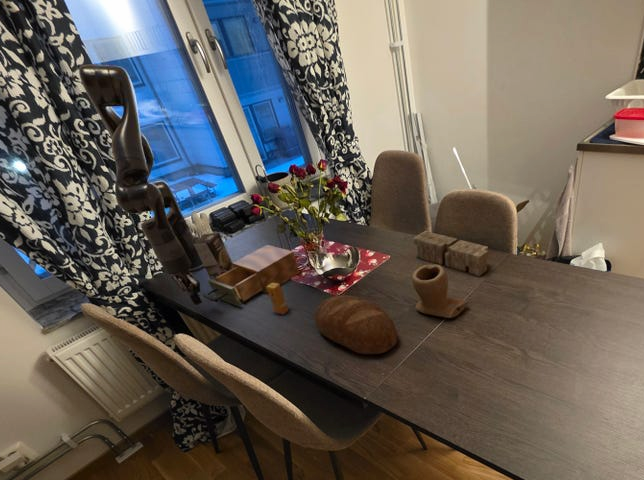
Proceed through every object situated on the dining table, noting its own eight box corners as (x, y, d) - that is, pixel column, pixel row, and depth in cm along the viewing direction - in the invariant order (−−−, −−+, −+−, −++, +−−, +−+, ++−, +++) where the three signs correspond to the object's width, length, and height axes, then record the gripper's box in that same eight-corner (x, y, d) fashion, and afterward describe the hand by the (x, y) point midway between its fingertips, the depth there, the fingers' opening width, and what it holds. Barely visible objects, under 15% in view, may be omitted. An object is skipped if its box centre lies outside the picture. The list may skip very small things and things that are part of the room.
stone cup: (408, 316, 120) (402, 273, 110) (426, 297, 127) (423, 255, 117) (452, 328, 114) (450, 283, 104) (469, 307, 121) (468, 263, 111)
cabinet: (266, 293, 139) (258, 271, 133) (241, 284, 146) (232, 263, 140) (300, 272, 148) (293, 251, 143) (274, 265, 155) (267, 244, 150)
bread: (373, 367, 104) (365, 334, 96) (305, 331, 119) (294, 300, 112) (410, 337, 112) (406, 304, 105) (342, 307, 127) (334, 276, 120)
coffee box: (228, 282, 148) (209, 242, 137) (212, 283, 148) (192, 244, 138) (236, 270, 155) (219, 231, 144) (221, 271, 155) (203, 233, 145)
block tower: (490, 269, 139) (427, 248, 153) (492, 247, 133) (426, 228, 148) (478, 279, 134) (414, 256, 149) (479, 257, 129) (413, 236, 144)
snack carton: (309, 266, 152) (299, 235, 143) (315, 263, 153) (306, 231, 145) (319, 269, 149) (310, 237, 140) (325, 265, 151) (316, 233, 142)
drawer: (226, 314, 129) (217, 297, 124) (203, 304, 135) (193, 287, 131) (273, 285, 141) (266, 268, 136) (250, 277, 147) (243, 261, 143)
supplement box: (289, 309, 129) (280, 283, 123) (283, 315, 127) (272, 288, 121) (282, 307, 131) (272, 281, 124) (275, 313, 128) (264, 287, 122)
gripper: (194, 253, 114) (219, 302, 126) (171, 245, 121) (197, 293, 132) (171, 264, 110) (199, 314, 121) (148, 255, 116) (177, 304, 128)
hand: (198, 303), depth 127 cm, fingers closed
